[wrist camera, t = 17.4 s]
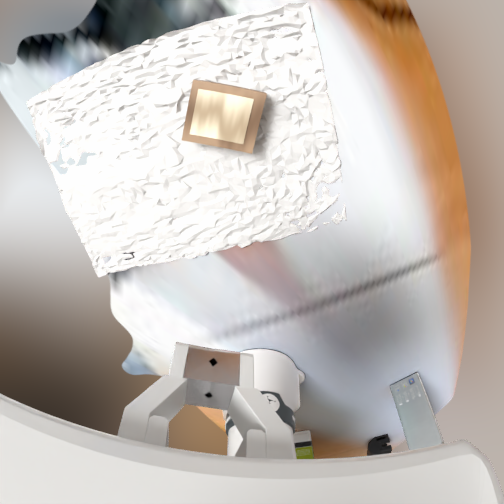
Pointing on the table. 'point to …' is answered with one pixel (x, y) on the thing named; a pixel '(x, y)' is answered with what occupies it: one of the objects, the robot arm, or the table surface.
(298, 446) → the tea box
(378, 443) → the end cap
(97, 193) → the carpet tile
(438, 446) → the robot arm
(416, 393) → the hard drive box
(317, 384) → the table surface
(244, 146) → the brown rectangular block
